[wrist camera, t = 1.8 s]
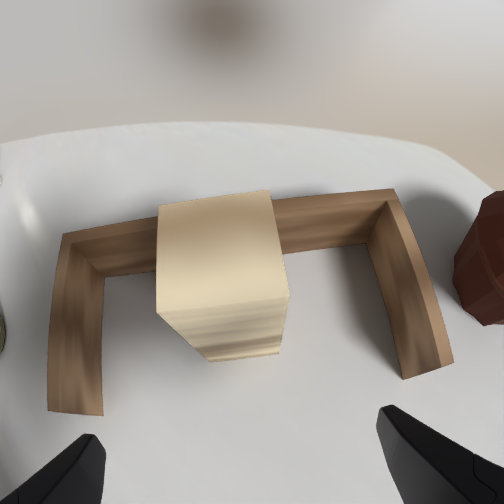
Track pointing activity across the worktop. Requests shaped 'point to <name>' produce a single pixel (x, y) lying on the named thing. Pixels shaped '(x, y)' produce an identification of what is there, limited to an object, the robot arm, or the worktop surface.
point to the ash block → (222, 275)
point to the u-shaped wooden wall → (291, 240)
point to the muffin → (483, 263)
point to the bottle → (2, 334)
